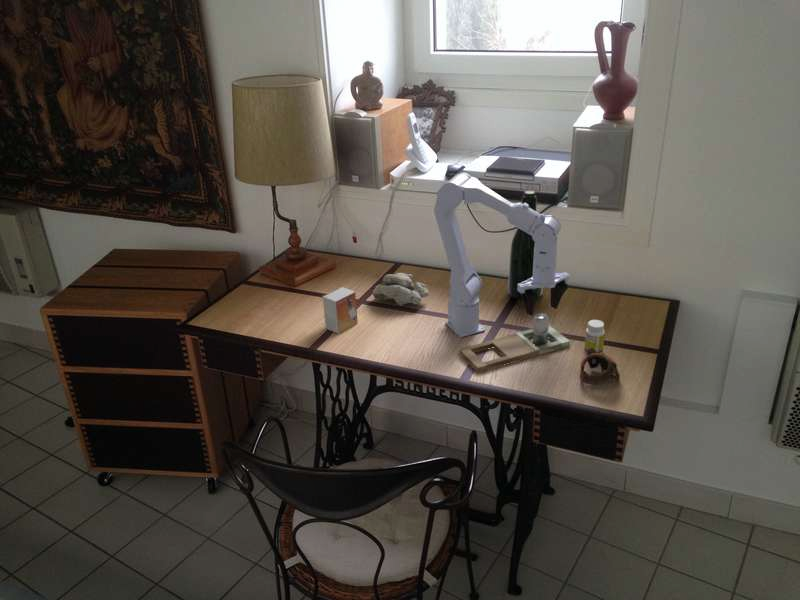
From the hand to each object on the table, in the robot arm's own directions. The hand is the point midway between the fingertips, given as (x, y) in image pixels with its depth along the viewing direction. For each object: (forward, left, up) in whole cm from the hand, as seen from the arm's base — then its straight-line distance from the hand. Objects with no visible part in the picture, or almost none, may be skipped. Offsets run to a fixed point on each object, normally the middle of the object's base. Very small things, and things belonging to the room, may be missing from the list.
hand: (541, 310), depth 180 cm
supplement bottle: (+10, +10, -10) cm, 17 cm away
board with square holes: (0, -8, -10) cm, 13 cm away
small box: (-34, -45, -10) cm, 57 cm away
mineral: (-40, -23, -10) cm, 47 cm away
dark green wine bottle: (-26, +12, -10) cm, 30 cm away
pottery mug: (+21, +3, -10) cm, 23 cm away
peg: (0, 0, -10) cm, 10 cm away
